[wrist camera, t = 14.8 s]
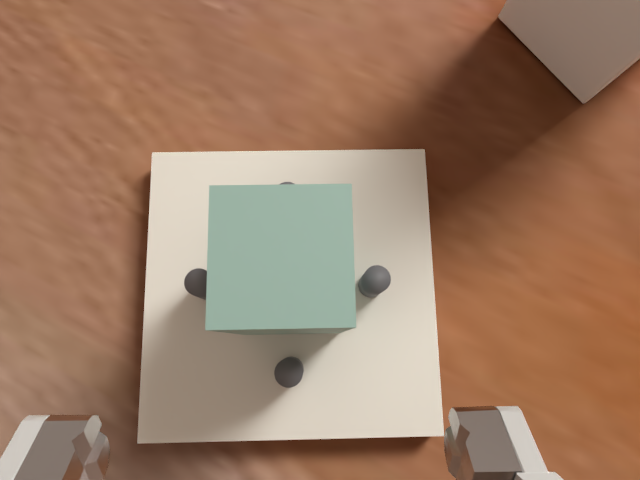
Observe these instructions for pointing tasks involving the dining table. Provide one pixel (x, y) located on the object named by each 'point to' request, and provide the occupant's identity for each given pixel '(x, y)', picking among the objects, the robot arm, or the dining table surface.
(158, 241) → the peg board
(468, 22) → the dining table surface
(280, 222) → the block
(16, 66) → the dining table surface
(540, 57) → the milk carton
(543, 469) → the robot arm
